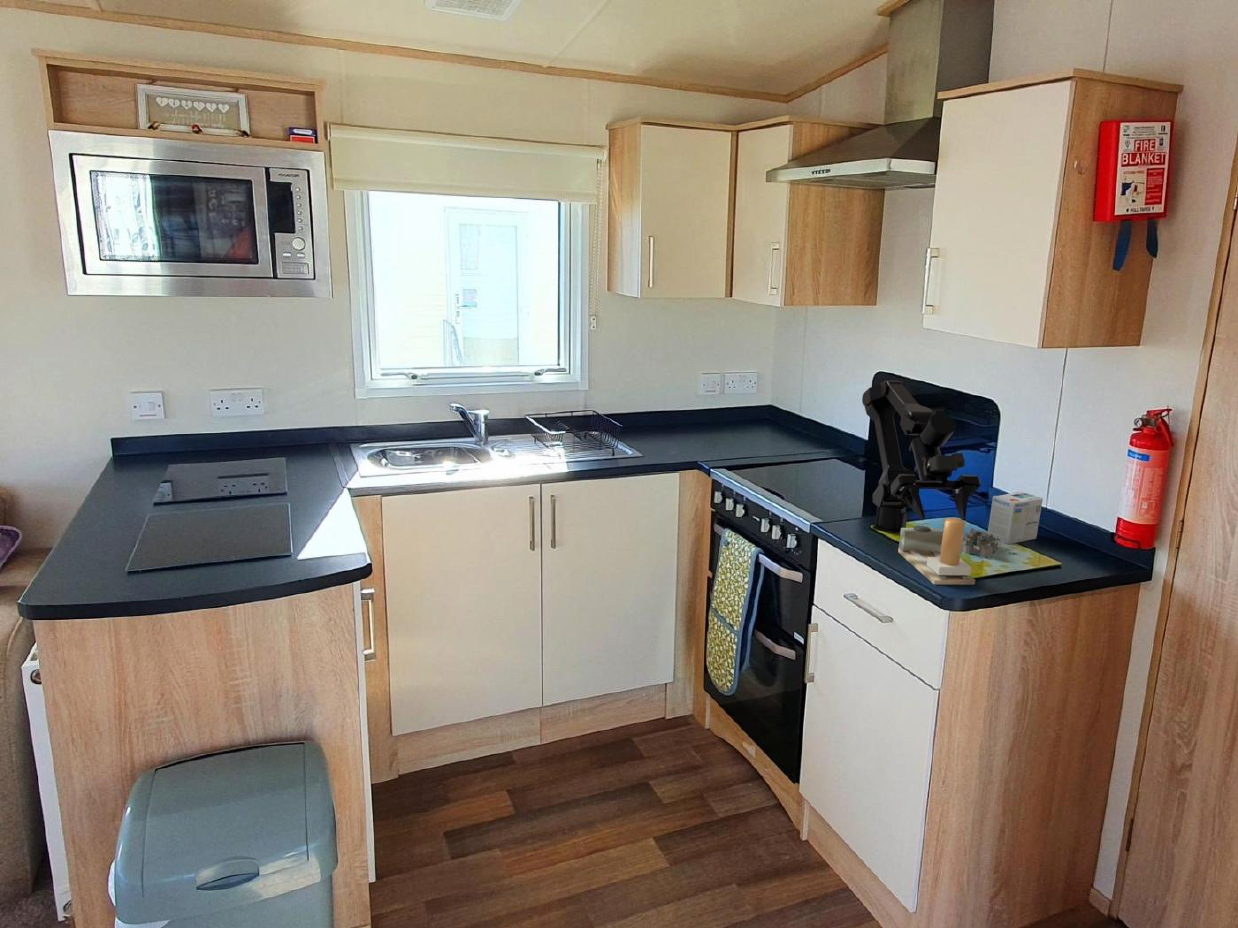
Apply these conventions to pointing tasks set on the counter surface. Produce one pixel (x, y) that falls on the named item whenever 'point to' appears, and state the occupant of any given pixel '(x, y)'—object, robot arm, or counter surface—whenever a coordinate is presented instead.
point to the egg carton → (979, 543)
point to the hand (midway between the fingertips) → (943, 519)
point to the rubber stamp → (950, 551)
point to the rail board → (927, 553)
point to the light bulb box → (1015, 517)
